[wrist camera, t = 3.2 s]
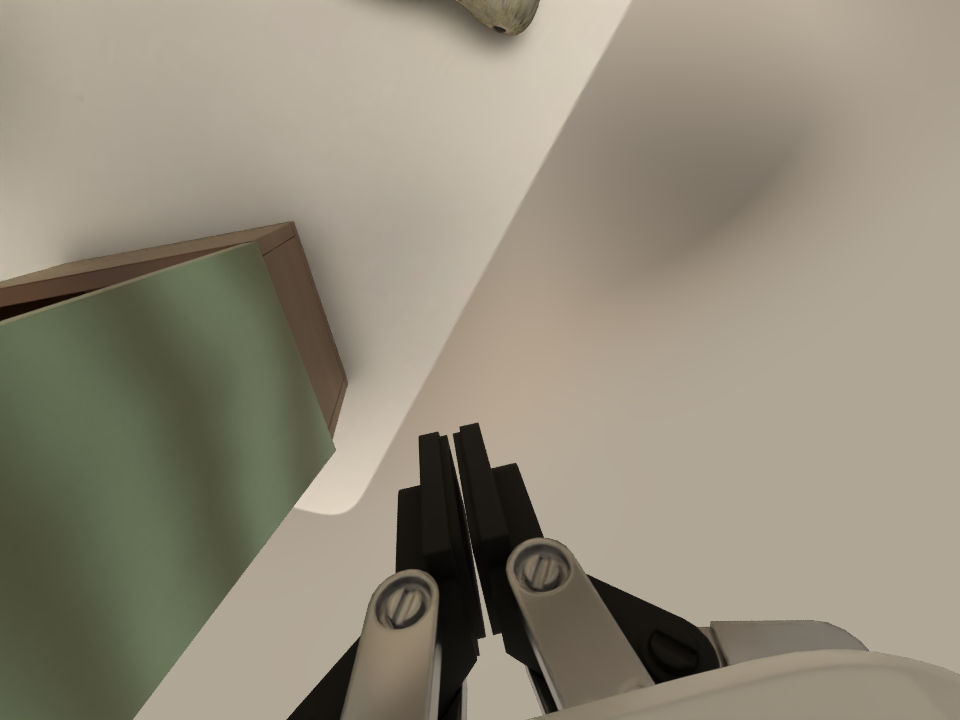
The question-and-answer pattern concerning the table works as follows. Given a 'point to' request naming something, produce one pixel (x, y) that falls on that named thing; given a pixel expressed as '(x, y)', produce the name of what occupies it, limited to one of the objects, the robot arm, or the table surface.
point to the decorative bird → (503, 13)
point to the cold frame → (273, 243)
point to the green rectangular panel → (141, 475)
